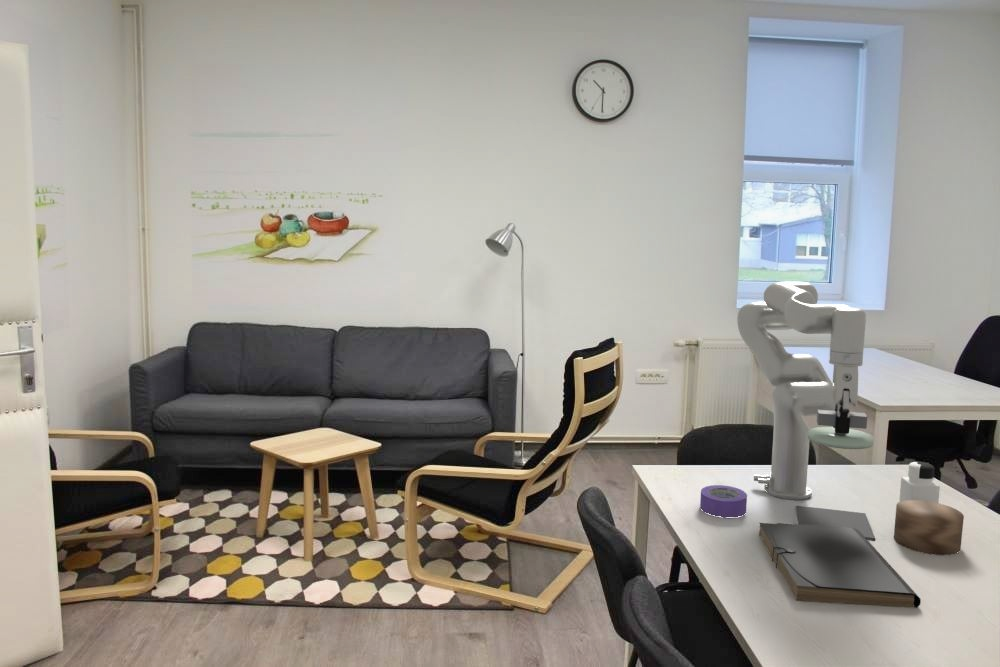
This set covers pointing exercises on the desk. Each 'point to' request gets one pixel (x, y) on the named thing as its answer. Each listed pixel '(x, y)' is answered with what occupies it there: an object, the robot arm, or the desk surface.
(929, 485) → the medicine bottle
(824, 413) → the cover
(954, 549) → the canister
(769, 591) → the desk surface
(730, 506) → the tape roll
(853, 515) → the mat
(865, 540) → the file folder
